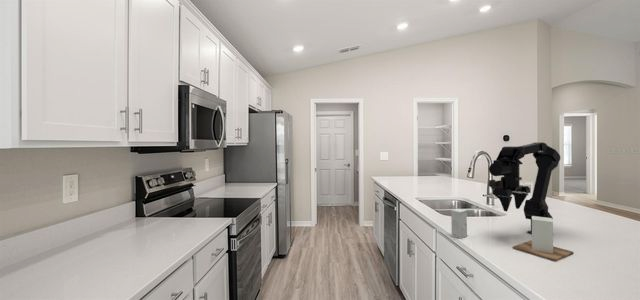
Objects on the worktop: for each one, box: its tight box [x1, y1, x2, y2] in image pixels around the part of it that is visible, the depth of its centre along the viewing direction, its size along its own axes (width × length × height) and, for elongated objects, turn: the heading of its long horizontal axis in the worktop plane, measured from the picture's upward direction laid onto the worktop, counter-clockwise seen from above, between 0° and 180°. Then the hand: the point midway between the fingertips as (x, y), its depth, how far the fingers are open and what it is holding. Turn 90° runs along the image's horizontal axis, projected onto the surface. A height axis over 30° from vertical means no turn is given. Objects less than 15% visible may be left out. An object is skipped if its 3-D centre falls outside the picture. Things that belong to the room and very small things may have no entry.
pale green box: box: [531, 216, 554, 253], centre depth 105 cm, size 6×6×12 cm
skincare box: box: [450, 208, 468, 239], centre depth 124 cm, size 6×4×12 cm
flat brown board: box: [512, 239, 574, 262], centre depth 105 cm, size 14×14×5 cm
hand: (511, 210), depth 118 cm, fingers open, 9 cm apart
